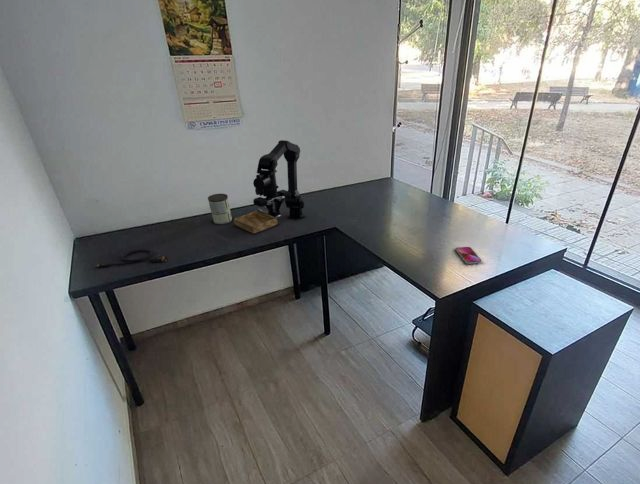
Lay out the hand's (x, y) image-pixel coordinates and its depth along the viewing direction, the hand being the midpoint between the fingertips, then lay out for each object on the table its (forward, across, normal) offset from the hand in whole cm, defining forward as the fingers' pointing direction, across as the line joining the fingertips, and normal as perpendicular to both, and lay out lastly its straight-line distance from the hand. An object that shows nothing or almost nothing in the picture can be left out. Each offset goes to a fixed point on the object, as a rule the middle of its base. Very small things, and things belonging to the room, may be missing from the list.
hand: (274, 214), depth 193 cm
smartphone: (+11, -42, +86) cm, 97 cm away
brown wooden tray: (+11, 0, -18) cm, 21 cm away
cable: (+11, +60, -30) cm, 68 cm away
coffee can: (+11, +9, -37) cm, 40 cm away
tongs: (0, 0, -4) cm, 4 cm away
